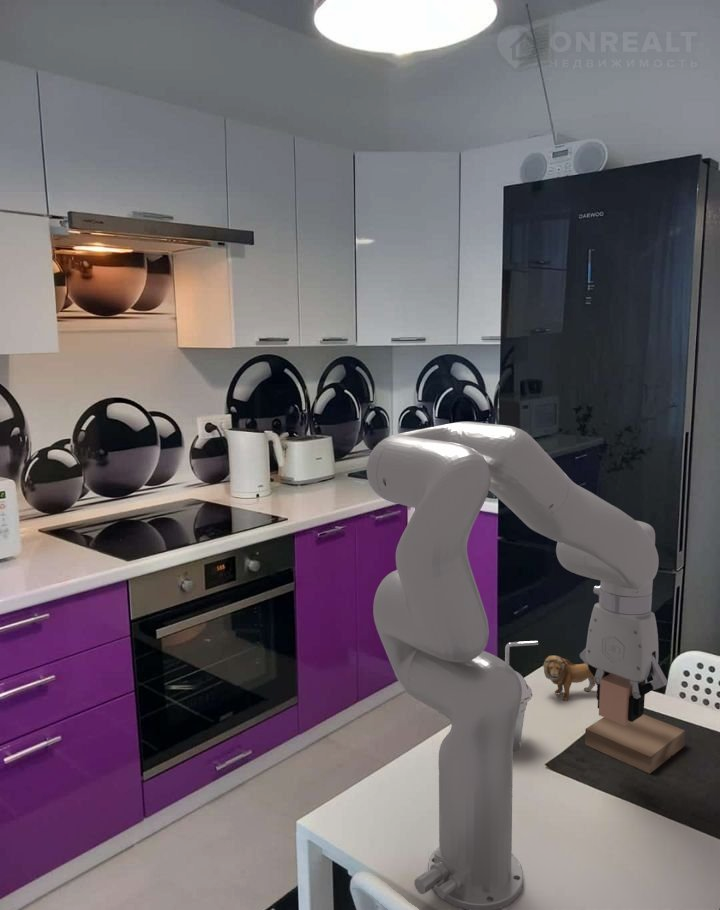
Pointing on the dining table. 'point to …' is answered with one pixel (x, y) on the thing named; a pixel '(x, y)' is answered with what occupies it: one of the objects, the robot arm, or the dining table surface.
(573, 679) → the lion figurine
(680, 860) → the dining table surface
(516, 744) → the cup with straw
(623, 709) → the terracotta block
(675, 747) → the walnut base
